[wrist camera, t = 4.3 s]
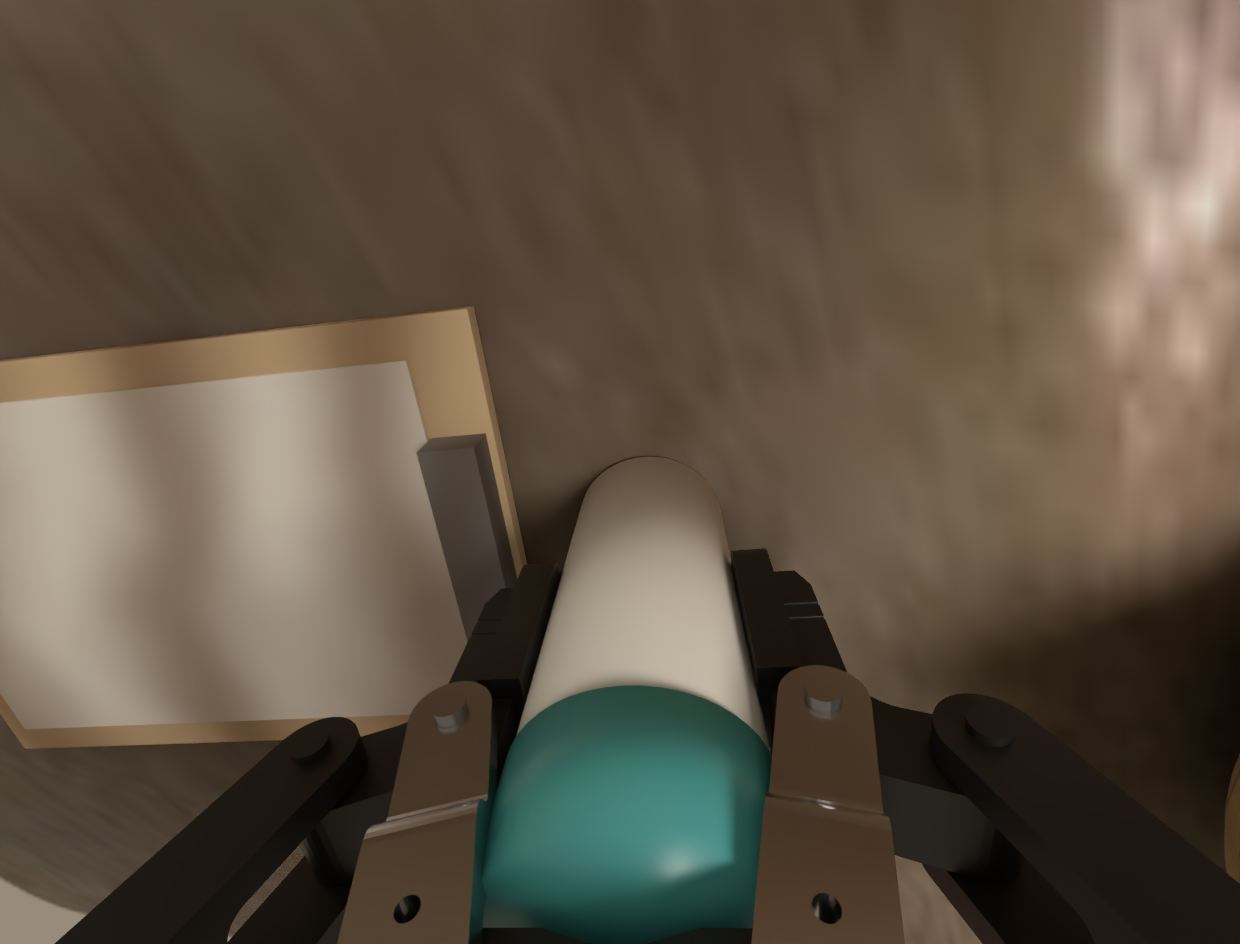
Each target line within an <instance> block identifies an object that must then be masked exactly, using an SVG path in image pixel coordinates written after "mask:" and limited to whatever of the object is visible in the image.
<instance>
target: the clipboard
mask: <svg viewBox="0 0 1240 944" xmlns="http://www.w3.org/2000/svg"><path fill="white" fill-rule="evenodd" d="M525 564H527V561H526V556H525V551H524V546H523V541H522V536H521V532H520V527H519V522H518V517H517V512H516V508H515V503H514V498H513V493H512V488H511V484H510V479H509V474H508V469H507V464H506V459H505V455H504V450H503V445H502V440H501V435H500V431H499V426H498V421H497V416H496V411H495V406H494V402H493V397H492V392H491V387H490V382H489V378H488V373H487V368H486V363H485V358H484V353H483V349H482V344H481V339H480V334H479V329H478V325H477V320H476V315H475V310H474V306H469V307H460V308H452V309H443V310H434V311H425V312H416V313H408V314H399V315H390V316H381V317H373V318H364V319H355V320H346V321H338V322H329V323H320V324H311V325H303V326H294V327H285V328H276V329H268V330H259V331H250V332H241V333H233V334H224V335H215V336H206V337H198V338H189V339H180V340H171V341H163V342H154V343H145V344H136V345H128V346H119V347H110V348H101V349H93V350H84V351H75V352H66V353H57V354H49V355H40V356H31V357H22V358H14V359H5V360H0V714H1V716H2V717H3V719H4V720H5V722H6V723H7V724H8V726H9V727H10V729H11V730H12V731H13V733H14V734H15V736H16V737H17V739H18V740H19V741H20V743H21V744H22V746H23V747H24V748H25V749H36V748H65V747H95V746H124V745H153V744H182V743H212V742H241V741H270V740H284V739H285V738H287V737H288V736H289V735H290V734H292V733H293V732H295V731H296V730H298V729H300V728H301V727H303V726H305V725H307V724H309V723H312V722H314V721H317V720H320V719H324V718H328V717H344V718H347V719H350V720H352V721H353V722H354V723H355V724H356V726H357V728H358V731H359V733H360V736H361V737H362V736H365V735H368V734H372V733H375V732H378V731H382V730H385V729H389V728H392V727H395V726H398V725H401V724H404V723H406V722H408V720H409V717H410V714H411V712H412V710H413V709H414V707H415V706H416V705H417V704H418V702H419V701H420V700H421V699H422V698H424V697H425V696H426V695H427V694H429V693H430V692H432V691H433V690H435V689H437V688H439V687H441V686H444V685H446V684H448V683H449V681H450V679H451V677H452V675H453V673H454V670H455V668H456V666H457V664H458V662H459V660H460V657H461V655H462V653H463V651H464V649H465V647H466V644H467V642H468V640H469V638H470V637H471V636H472V635H471V634H472V631H473V629H474V627H475V625H476V623H478V618H479V616H480V614H481V612H482V610H483V608H484V605H485V603H486V602H488V601H489V600H490V599H491V598H492V597H493V596H494V595H495V594H496V593H497V592H498V591H499V590H500V589H502V588H514V587H515V584H516V582H517V579H518V577H519V574H520V572H521V569H522V567H523V566H524V565H525Z"/></svg>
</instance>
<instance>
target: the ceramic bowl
mask: <svg viewBox="0 0 1240 944" xmlns="http://www.w3.org/2000/svg"><path fill="white" fill-rule="evenodd" d="M1224 850H1225V866H1226V872H1227V874H1228V875H1229V876H1231V877H1232V878H1233V879H1235V880H1236V881H1237V882H1238V883H1240V754H1239V756H1238V758H1237V761H1236V763H1235V766H1234V768H1233V771H1232V776H1231V781H1230V785H1229V790H1228V795H1227V799H1226V804H1225V827H1224Z"/></svg>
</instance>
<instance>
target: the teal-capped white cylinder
mask: <svg viewBox="0 0 1240 944" xmlns="http://www.w3.org/2000/svg"><path fill="white" fill-rule="evenodd" d="M771 763H772V754H771V751H770V746H769V741H768V736H767V731H766V726H765V722H764V717H763V712H762V708H761V705H760V702H759V699H758V694H757V689H756V685H755V680H754V675H753V670H752V665H751V660H750V655H749V650H748V645H747V640H746V636H745V631H744V626H743V621H742V616H741V611H740V606H739V601H738V596H737V592H736V587H735V582H734V577H733V572H732V567H731V557H730V553H729V548H728V543H727V538H726V533H725V529H724V524H723V519H722V514H721V509H720V506H719V502H718V499H717V497H716V495H715V493H714V491H713V490H712V488H711V486H710V485H709V484H708V483H707V481H706V480H705V479H704V478H703V477H702V476H701V475H699V474H698V473H697V472H696V471H694V470H693V469H691V468H690V467H688V466H686V465H684V464H682V463H680V462H677V461H674V460H671V459H667V458H662V457H638V458H632V459H629V460H625V461H622V462H620V463H618V464H615V465H614V466H612V467H610V468H608V469H607V470H606V471H604V472H603V473H602V474H600V475H599V476H598V477H597V478H596V479H595V480H594V482H593V483H592V484H591V486H590V487H589V489H588V490H587V492H586V494H585V496H584V499H583V502H582V505H581V508H580V512H579V515H578V519H577V523H576V526H575V530H574V533H573V537H572V540H571V544H570V547H569V551H568V554H567V558H566V561H565V565H564V568H563V572H562V576H561V579H560V583H559V586H558V590H557V593H556V597H555V600H554V604H553V607H552V611H551V614H550V618H549V622H548V625H547V629H546V632H545V636H544V639H543V643H542V646H541V650H540V653H539V657H538V660H537V664H536V668H535V671H534V675H533V678H532V682H531V685H530V689H529V692H528V696H527V699H526V703H525V706H524V710H523V714H522V717H521V721H520V724H519V728H518V731H517V735H516V738H515V739H514V741H513V743H512V744H511V747H510V749H509V752H508V754H507V757H506V760H505V764H504V767H503V771H502V774H501V778H500V781H499V785H498V788H497V791H496V796H495V800H494V805H493V809H492V814H491V820H490V826H489V833H488V839H487V845H486V853H485V861H484V869H483V877H482V883H483V886H484V889H485V892H486V895H487V899H486V902H485V906H484V913H483V927H482V928H544V929H547V930H550V931H553V932H556V933H559V934H562V935H565V936H568V937H571V938H574V939H577V940H580V941H583V942H587V943H590V944H649V943H652V942H656V941H659V940H662V939H665V938H669V937H672V936H675V935H679V934H682V933H685V932H689V931H692V930H695V929H699V928H753V920H754V910H755V899H756V888H757V877H758V866H759V855H760V844H761V834H762V823H763V812H764V803H765V796H766V792H767V793H769V786H770V774H771Z"/></svg>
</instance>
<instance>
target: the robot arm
mask: <svg viewBox="0 0 1240 944" xmlns="http://www.w3.org/2000/svg"><path fill="white" fill-rule="evenodd" d="M731 567H732V572H733V577H734V582H735V587H736V592H737V596H738V601H739V606H740V611H741V616H742V621H743V626H744V631H745V636H746V640H747V645H748V650H749V655H750V660H751V665H752V670H753V675H754V680H755V685H756V689H757V694H758V699H759V702H760V705H761V708H762V712H763V717H764V722H765V726H766V731H767V736H768V741H769V746H770V751H771V754H772V763H771V774H770V786H769V793H767V792H766V796H765V803H764V812H763V823H762V834H761V844H760V855H759V866H758V877H757V888H756V899H755V910H754V920H753V928H699V929H695V930H692V931H689V932H685V933H682V934H679V935H675V936H672V937H669V938H665V939H662V940H659V941H656V942H652V943H649V944H905V940H904V932H903V923H902V914H901V906H900V897H899V888H898V879H897V871H896V862H895V855H897V856H900V857H903V858H907V859H910V860H913V861H917V862H920V863H922V865H923V867H924V868H925V870H926V871H927V873H928V874H929V876H930V877H931V878H932V879H933V881H934V882H935V883H936V884H937V886H938V887H939V888H940V890H941V891H942V892H943V893H944V895H945V896H946V897H947V899H948V900H949V901H950V902H951V904H952V905H953V906H954V908H955V909H956V910H957V911H958V913H959V914H960V915H961V917H962V918H963V919H964V920H965V922H966V923H967V924H968V925H969V927H970V928H971V929H972V931H973V932H974V933H975V934H976V936H977V937H978V938H979V940H980V941H981V942H982V943H983V944H1240V883H1238V882H1237V881H1236V880H1235V879H1233V878H1232V877H1231V876H1229V875H1228V874H1227V873H1226V872H1224V871H1223V870H1222V869H1221V868H1219V867H1218V866H1217V865H1216V864H1214V863H1213V862H1212V861H1211V860H1209V859H1208V858H1207V857H1206V856H1204V855H1203V854H1202V853H1200V852H1199V851H1198V850H1197V849H1195V848H1194V847H1193V846H1192V845H1190V844H1189V843H1188V842H1187V841H1185V840H1184V839H1183V838H1182V837H1180V836H1179V835H1178V834H1177V833H1175V832H1174V831H1173V830H1171V829H1170V828H1169V827H1168V826H1166V825H1165V824H1164V823H1163V822H1161V821H1160V820H1159V819H1158V818H1156V817H1155V816H1154V815H1153V814H1151V813H1150V812H1149V811H1148V810H1146V809H1145V808H1144V807H1142V806H1141V805H1140V804H1139V803H1137V802H1136V801H1135V800H1134V799H1132V798H1131V797H1130V796H1129V795H1127V794H1126V793H1125V792H1124V791H1122V790H1121V789H1120V788H1119V787H1117V786H1116V785H1115V784H1113V783H1112V782H1111V781H1110V780H1108V779H1107V778H1106V777H1105V776H1103V775H1102V774H1101V773H1100V772H1098V771H1097V770H1096V769H1095V768H1093V767H1092V766H1091V765H1090V764H1088V763H1087V762H1086V761H1084V760H1083V759H1082V758H1081V757H1079V756H1078V755H1077V754H1076V753H1074V752H1073V751H1072V750H1071V749H1069V748H1068V747H1067V746H1066V745H1064V744H1063V743H1062V742H1061V741H1059V740H1058V739H1057V738H1055V737H1054V736H1053V735H1052V734H1050V733H1049V732H1048V731H1047V730H1045V729H1044V728H1043V727H1042V726H1040V725H1039V724H1038V723H1037V722H1035V721H1034V720H1033V719H1032V718H1030V717H1029V716H1028V715H1026V714H1025V713H1023V712H1022V711H1021V710H1019V709H1017V708H1016V707H1014V706H1012V705H1010V704H1008V703H1006V702H1004V701H1001V700H998V699H995V698H992V697H988V696H984V695H978V694H957V695H953V696H949V697H947V698H945V699H943V700H942V701H940V702H939V703H938V704H937V706H936V707H935V709H934V712H933V714H928V713H923V712H918V711H913V710H909V709H904V708H899V707H895V706H892V705H889V704H886V703H883V702H881V701H879V700H877V699H875V698H873V697H871V696H870V695H869V693H868V691H867V689H866V688H865V687H864V685H863V684H862V683H861V682H860V681H859V680H857V679H856V678H855V677H853V676H852V675H850V674H848V673H847V671H846V669H845V666H844V664H843V661H842V659H841V657H840V654H839V652H838V649H837V647H836V644H835V642H834V640H833V637H832V635H831V632H830V630H829V628H828V625H827V623H826V620H825V619H824V617H823V613H822V611H821V608H820V606H819V605H818V601H817V598H816V596H815V594H814V591H813V589H812V586H811V584H810V583H808V582H807V581H806V580H805V579H804V578H803V577H801V576H800V575H799V574H798V573H797V572H795V571H779V572H774V571H773V568H772V565H771V562H770V558H769V555H768V552H767V550H766V549H753V550H738V551H731ZM561 576H562V573H561V569H560V566H559V564H558V563H557V562H554V563H539V564H525V565H524V566H523V567H522V569H521V572H520V574H519V577H518V579H517V582H516V584H515V587H514V588H502V589H500V590H499V591H498V592H497V593H496V594H495V595H494V596H493V597H492V598H491V599H490V600H489V601H488V602H486V603H485V605H484V608H483V610H482V612H481V614H480V616H479V618H478V623H476V625H475V627H474V629H473V631H472V634H471V635H472V636H471V637H470V638H469V640H468V642H467V644H466V647H465V649H464V651H463V653H462V655H461V657H460V660H459V662H458V664H457V666H456V668H455V670H454V673H453V675H452V677H451V679H450V681H449V683H448V684H446V685H444V686H441V687H439V688H437V689H435V690H433V691H432V692H430V693H429V694H427V695H426V696H425V697H424V698H422V699H421V700H420V701H419V702H418V704H417V705H416V706H415V707H414V709H413V710H412V712H411V714H410V717H409V720H408V722H406V723H404V724H401V725H398V726H395V727H392V728H389V729H385V730H382V731H378V732H375V733H372V734H368V735H365V736H362V737H361V736H360V733H359V731H358V728H357V726H356V724H355V723H354V722H353V721H352V720H350V719H347V718H344V717H328V718H324V719H320V720H317V721H314V722H312V723H309V724H307V725H305V726H303V727H301V728H300V729H298V730H296V731H295V732H293V733H292V734H290V735H289V736H288V737H287V738H285V739H284V740H283V741H282V742H281V743H280V744H279V745H277V746H276V747H275V748H274V749H273V750H272V751H271V752H270V753H268V754H267V755H266V756H265V757H264V758H263V759H262V760H261V761H259V762H258V763H257V764H256V765H255V766H254V767H253V768H252V769H250V770H249V771H248V772H247V773H246V774H245V775H244V776H243V777H241V778H240V779H239V780H238V781H237V782H236V783H235V784H234V785H232V786H231V787H230V788H229V789H228V790H227V791H226V792H225V793H223V794H222V795H221V796H220V797H219V798H218V799H217V800H216V801H214V802H213V803H212V804H211V805H210V806H209V807H208V808H207V809H205V810H204V811H203V812H202V813H201V814H200V815H199V816H198V817H196V818H195V819H194V820H193V821H192V822H191V823H190V824H189V825H187V826H186V827H185V828H184V829H183V830H182V831H181V832H180V833H179V834H177V835H176V836H175V837H174V838H173V839H172V840H171V841H170V842H168V843H167V844H166V845H165V846H164V847H163V848H162V849H161V850H159V851H158V852H157V853H156V854H155V855H154V856H153V857H152V858H150V859H149V860H148V861H147V862H146V863H145V864H144V865H143V866H141V867H140V868H139V869H138V870H137V871H136V872H135V873H134V874H132V875H131V876H130V877H129V878H128V879H127V880H126V881H125V882H123V883H122V884H121V885H120V886H119V887H118V888H117V889H116V890H114V891H113V892H112V893H111V894H110V895H109V896H108V897H107V898H105V899H104V900H103V901H102V902H101V903H100V904H99V905H98V906H96V907H95V908H94V909H93V910H92V911H91V912H90V913H89V914H87V915H86V916H85V917H84V918H83V919H82V920H81V921H80V922H78V924H76V925H75V926H74V927H73V928H72V929H71V930H70V931H68V932H67V933H66V934H65V935H64V936H63V937H62V938H61V939H59V940H58V941H57V942H56V943H55V944H590V943H587V942H583V941H580V940H577V939H574V938H571V937H568V936H565V935H562V934H559V933H556V932H553V931H550V930H547V929H544V928H482V927H483V913H484V906H485V902H486V899H487V895H486V892H485V889H484V886H483V883H482V877H483V869H484V861H485V853H486V845H487V839H488V833H489V826H490V820H491V814H492V809H493V805H494V800H495V796H496V791H497V788H498V785H499V781H500V778H501V774H502V771H503V767H504V764H505V760H506V757H507V754H508V752H509V749H510V747H511V744H512V743H513V741H514V739H515V738H516V735H517V731H518V728H519V724H520V721H521V717H522V714H523V710H524V706H525V703H526V699H527V696H528V692H529V689H530V685H531V682H532V678H533V675H534V671H535V668H536V664H537V660H538V657H539V653H540V650H541V646H542V643H543V639H544V636H545V632H546V629H547V625H548V622H549V618H550V614H551V611H552V607H553V604H554V600H555V597H556V593H557V590H558V586H559V583H560V579H561ZM298 845H300V847H301V849H302V850H303V852H304V854H305V856H304V858H303V859H302V860H301V861H300V862H299V863H298V864H297V865H296V866H295V868H294V869H293V870H292V871H291V872H290V873H289V874H288V875H287V877H286V878H285V879H284V880H283V881H282V882H281V883H280V884H279V885H278V887H277V888H276V889H275V890H274V891H273V892H272V893H271V894H270V895H269V897H268V898H267V899H266V900H265V901H264V902H263V903H262V904H261V906H260V907H259V908H258V909H257V910H256V911H255V912H254V913H253V914H252V916H251V917H250V918H249V919H248V920H247V921H246V922H245V923H244V925H243V926H242V927H241V928H240V929H239V930H238V931H237V932H236V933H235V935H234V936H233V937H232V938H231V939H230V940H229V941H228V942H227V937H228V932H229V929H230V926H231V924H232V922H233V920H234V918H235V917H236V915H237V913H238V912H239V910H240V909H241V908H242V907H243V905H244V904H245V903H246V902H247V901H248V900H249V899H250V898H251V897H252V895H253V894H254V893H255V892H256V891H257V890H258V889H259V888H260V887H261V886H262V885H263V883H264V882H265V881H266V880H267V879H268V878H269V877H270V876H271V875H272V874H273V873H274V871H275V870H276V869H277V868H278V867H279V866H280V865H281V864H282V863H283V862H284V861H285V860H286V858H287V857H288V856H289V855H290V854H291V853H292V852H293V851H294V850H295V849H296V848H297V846H298Z"/></svg>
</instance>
